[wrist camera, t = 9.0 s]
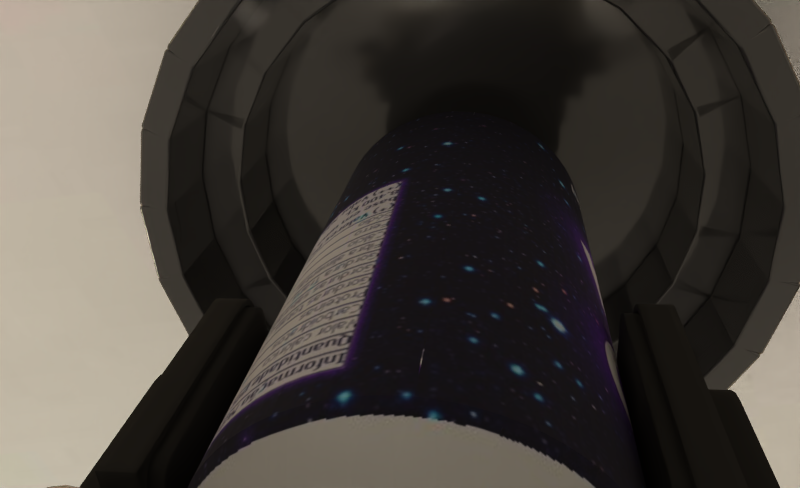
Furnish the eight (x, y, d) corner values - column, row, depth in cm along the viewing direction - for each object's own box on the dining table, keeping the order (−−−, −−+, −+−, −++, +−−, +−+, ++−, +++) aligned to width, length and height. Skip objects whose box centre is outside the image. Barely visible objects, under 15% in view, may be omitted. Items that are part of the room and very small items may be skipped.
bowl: (169, -103, 18) (60, -100, 14) (791, -151, 16) (903, -166, 11) (260, 367, 25) (206, 472, 20) (704, 380, 22) (753, 501, 18)
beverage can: (410, 332, 19) (299, 869, 9) (310, 156, 17) (9, 577, 7) (609, 264, 18) (769, 831, 7) (524, 59, 16) (566, 423, 5)
